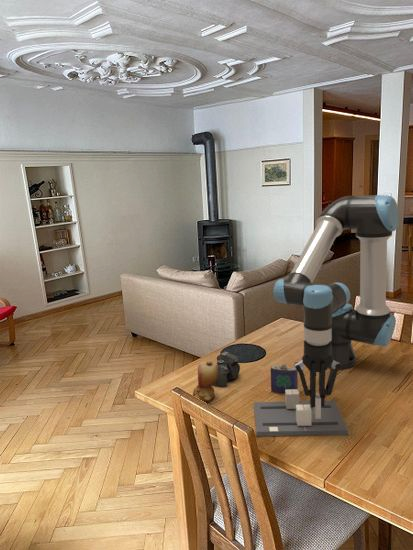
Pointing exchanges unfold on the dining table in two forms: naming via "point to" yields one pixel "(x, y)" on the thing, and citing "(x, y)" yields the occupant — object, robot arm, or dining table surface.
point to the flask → (283, 378)
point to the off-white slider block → (291, 398)
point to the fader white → (303, 415)
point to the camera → (226, 368)
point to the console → (283, 421)
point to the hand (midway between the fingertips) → (317, 415)
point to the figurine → (206, 381)
